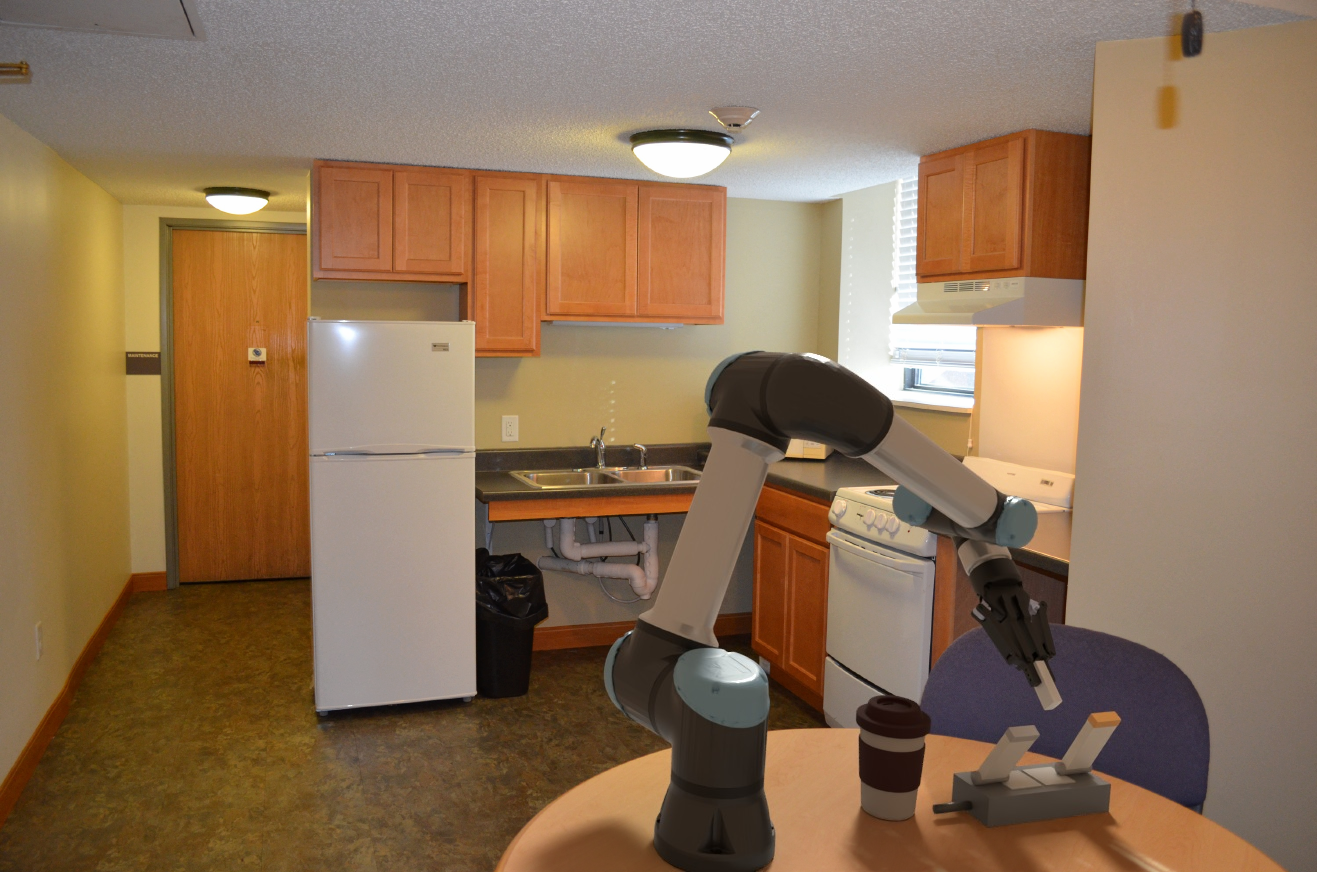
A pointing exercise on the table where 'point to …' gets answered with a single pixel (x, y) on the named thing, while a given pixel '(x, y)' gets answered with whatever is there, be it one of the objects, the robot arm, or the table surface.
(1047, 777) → the power strip
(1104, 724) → the orange-capped paddle
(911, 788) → the coffee cup
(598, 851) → the table surface
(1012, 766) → the grey-capped paddle
